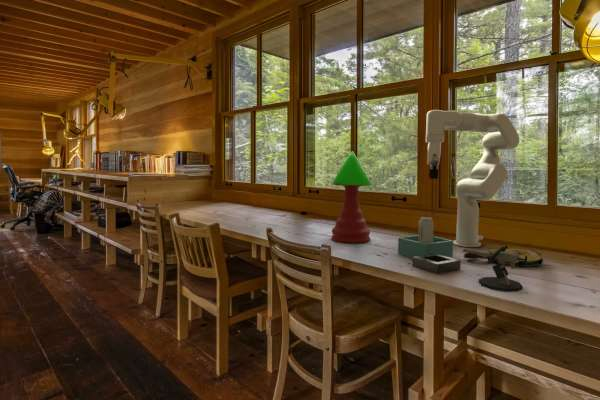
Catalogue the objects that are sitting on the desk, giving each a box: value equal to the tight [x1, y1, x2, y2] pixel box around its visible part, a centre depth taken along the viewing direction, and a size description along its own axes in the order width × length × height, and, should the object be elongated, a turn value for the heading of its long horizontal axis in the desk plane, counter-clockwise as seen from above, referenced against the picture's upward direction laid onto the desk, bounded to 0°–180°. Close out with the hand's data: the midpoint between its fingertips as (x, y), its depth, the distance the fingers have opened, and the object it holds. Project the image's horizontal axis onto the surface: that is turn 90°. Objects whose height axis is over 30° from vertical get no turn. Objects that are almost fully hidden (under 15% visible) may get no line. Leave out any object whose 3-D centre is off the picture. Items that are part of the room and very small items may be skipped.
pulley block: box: [463, 248, 553, 269], centre depth 153 cm, size 14×6×30 cm
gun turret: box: [462, 245, 527, 293], centre depth 126 cm, size 13×20×13 cm, turn 41°
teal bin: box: [397, 234, 454, 259], centre depth 164 cm, size 16×16×7 cm
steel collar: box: [412, 254, 462, 275], centre depth 145 cm, size 12×12×4 cm
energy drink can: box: [417, 216, 435, 244], centre depth 163 cm, size 6×6×15 cm
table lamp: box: [330, 150, 372, 244], centre depth 195 cm, size 20×20×45 cm
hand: (433, 178), depth 171 cm, fingers open, 9 cm apart
